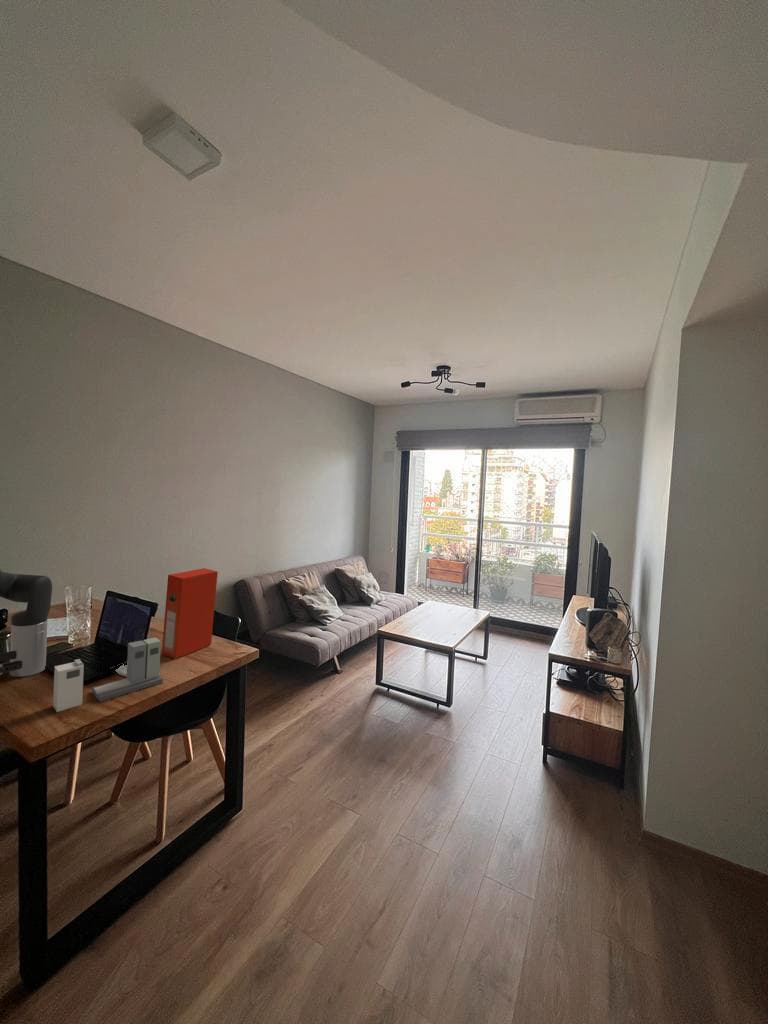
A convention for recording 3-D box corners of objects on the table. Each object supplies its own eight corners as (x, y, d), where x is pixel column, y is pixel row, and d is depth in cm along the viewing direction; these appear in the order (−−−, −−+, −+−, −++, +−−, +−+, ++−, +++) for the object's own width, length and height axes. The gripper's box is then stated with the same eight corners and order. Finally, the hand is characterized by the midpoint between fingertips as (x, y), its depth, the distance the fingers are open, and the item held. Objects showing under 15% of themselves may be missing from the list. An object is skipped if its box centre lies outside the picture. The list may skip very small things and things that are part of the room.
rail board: (92, 692, 126) (93, 648, 125) (153, 674, 140) (155, 635, 139) (99, 702, 121) (101, 656, 120) (162, 683, 135) (164, 642, 134)
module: (53, 706, 117) (54, 663, 116) (78, 698, 122) (79, 658, 121) (56, 712, 114) (58, 669, 114) (82, 704, 119) (84, 663, 118)
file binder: (161, 653, 156) (168, 574, 154) (197, 639, 172) (204, 567, 170) (175, 659, 153) (183, 578, 151) (210, 644, 169) (218, 571, 166)
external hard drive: (134, 681, 136) (109, 672, 140) (155, 671, 143) (132, 663, 148) (134, 676, 136) (110, 667, 140) (155, 667, 143) (132, 659, 148)
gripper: (-70, 671, 91) (24, 653, 104) (-72, 652, 100) (15, 638, 113) (-71, 703, 91) (23, 681, 104) (-73, 681, 100) (13, 664, 113)
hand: (19, 659), depth 108 cm, fingers open, 8 cm apart
